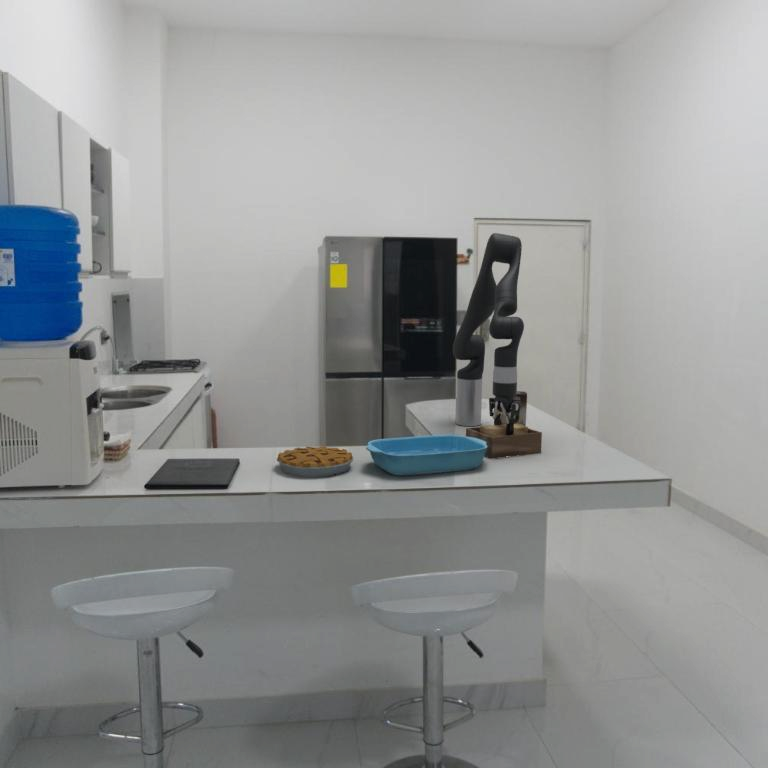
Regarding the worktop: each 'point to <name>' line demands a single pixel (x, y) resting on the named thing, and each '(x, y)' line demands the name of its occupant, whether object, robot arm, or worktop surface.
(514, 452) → the wooden box
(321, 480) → the worktop surface
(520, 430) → the tan flat block
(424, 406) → the worktop surface
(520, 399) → the coffee box
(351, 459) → the pie
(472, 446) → the casserole dish
